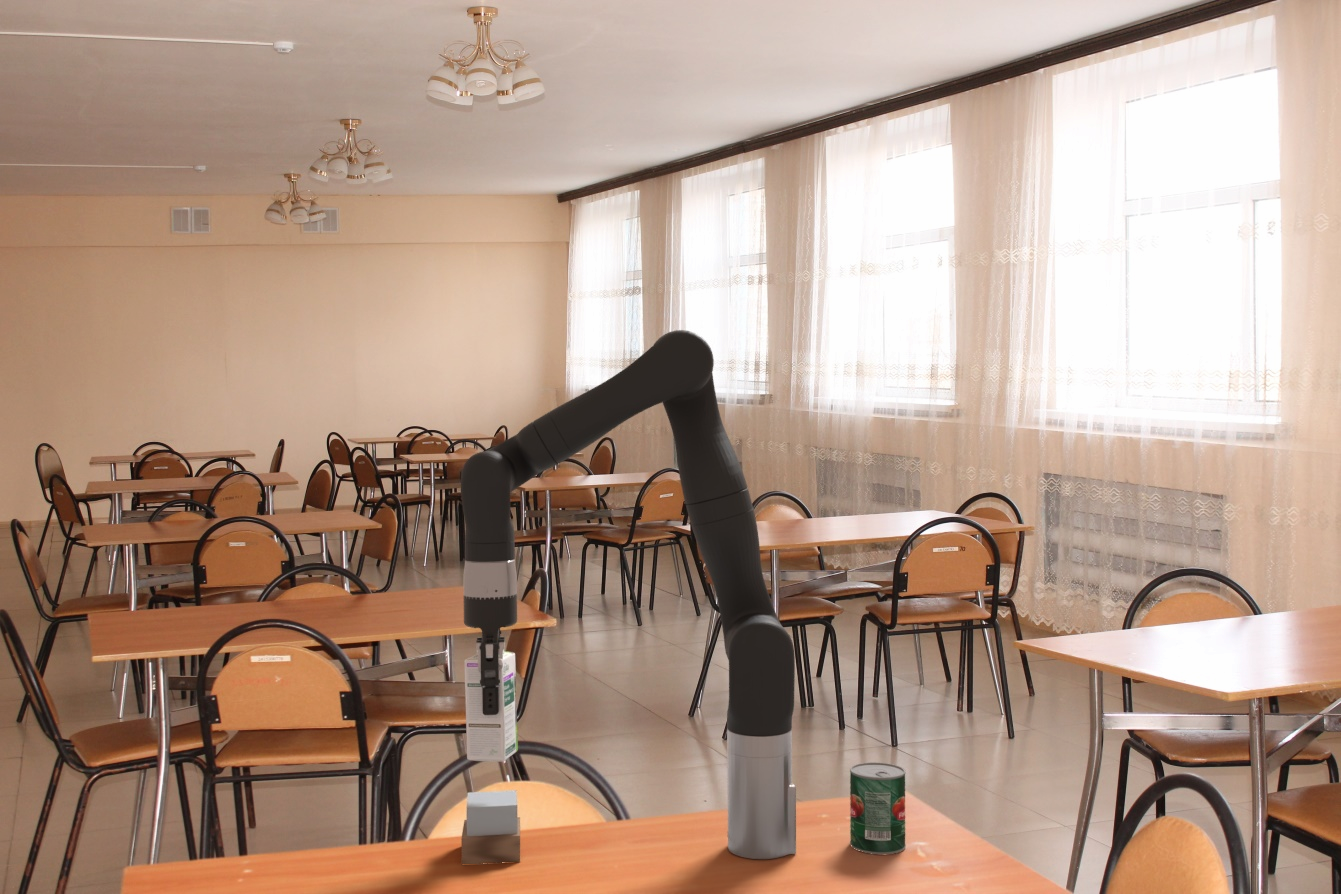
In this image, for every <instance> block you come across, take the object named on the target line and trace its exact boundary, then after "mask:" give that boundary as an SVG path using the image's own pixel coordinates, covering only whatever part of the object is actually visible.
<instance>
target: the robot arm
mask: <svg viewBox="0 0 1341 894" xmlns="http://www.w3.org/2000/svg"><path fill="white" fill-rule="evenodd" d="M714 361H715V360H714V354H713V351H712V348H711V347H710V345H709V343H708V342H707V341H706V340H705V339H704V338H703V337H702V336H701V335H700V334H698V333H696V332H693V331H690V330H686V329H685V330H684V329H676V330H672V331H669V332H666V333H664V334H662V336H661V337H659V338H658V339H657V340H656V341H655V342H654V343H653V345H652V346H651V347H649V349H647V350H646V351H645V352H643V354H642V355H640V356H639V357H638V358H637V359H636V360H634V361H633V362H632V363H631V364H628V366H626V367H624V369H622V370H621V371H620V372H617V374H614V375H613V376H612V377H609V378H608V379H607V380H605V381H604V382H602V383H600V384H598V385H596V386H595V387H593V388H591V389H590V390H588V391H586V392H583V393H581V394H580V395H577V396H576V397H573V398H572V399H570V400H568V401H566V402H564V403H562V404H561V405H559V406H558V407H556V408H555V407H554V409H552V410H550V411H548V412H547V413H544V414H543V415H541V416H540V417H538V418H536V419H535V420H534V421H531V422H529V423H528V424H527V425H526V426H524V427H522V429H521V430H519V431H518V432H517V434H515V435H513V436H511V437H509V438H508V439H506V440H504V441H502V442H500V443H499V444H497V445H495V446H493V447H491V448H489V449H487V450H485V451H479V452H477V453H475V454H472V455H471V456H470V457H469V458H468V459H467V460H466V461H465V463H464V464H463V467H462V470H461V473H460V474H461V475H460V494H461V503H462V504H461V505H462V511H463V512H462V513H463V517H464V525H465V531H464V569H463V576H462V577H463V578H462V579H463V591H462V592H463V625H465V626H466V627H467V628H471V629H480V630H481V635H482V636H478V637H476V643H475V645H476V647H475V648H476V654H478V671H479V672H480V673H481V680H480V686H481V688H482V703H483V714H484V715H497V714H498V712H499V685H500V679H499V671H500V670H501V669H502V668H503V663H502V665H499V659H502V660H503V653H504V651H505V648H506V637H505V636H501V635H502V630H501V628H508V627H512V626H514V625H516V624H517V622H518V575H517V568H516V560H515V559H516V555H515V554H516V552H515V551H516V547H515V545H516V544H515V543H516V542H515V540H516V539H515V537H516V536H515V529H514V524H513V522H512V519H511V493H512V492H513V491H515V490H516V489H518V488H520V487H521V486H523V485H524V484H525V483H527V482H529V481H530V480H531V479H533V478H534V477H536V476H538V475H539V474H540V473H542V472H544V471H547V470H550V469H551V468H553V467H556V466H557V465H559V464H561V463H562V462H564V461H566V460H568V459H569V458H571V457H573V456H574V455H576V454H578V453H579V452H582V451H583V450H584V449H586V448H587V447H589V446H591V445H592V444H594V443H596V442H597V441H598V440H599V439H601V438H602V437H604V436H605V435H607V434H608V433H609V432H611V431H612V430H614V429H615V428H617V427H619V426H620V425H621V424H623V423H624V422H626V421H628V420H630V419H632V418H633V417H634V416H636V415H638V414H640V413H642V412H644V411H646V410H648V409H650V408H652V407H654V406H657V405H659V404H661V403H662V406H663V407H664V410H665V413H666V416H667V418H668V422H669V424H670V427H671V431H672V435H673V439H674V445H675V454H676V459H677V460H676V461H677V468H678V475H679V480H680V484H681V491H682V495H683V498H684V499H683V500H684V503H685V507H686V511H687V514H688V518H689V522H690V526H691V529H692V532H693V535H694V538H695V540H696V544H697V546H698V549H699V553H700V554H701V556H702V557H701V558H702V560H703V562H704V565H705V567H706V569H707V572H708V574H709V576H710V579H711V582H712V584H713V588H714V591H715V597H716V600H717V605H718V610H719V615H720V620H721V628H722V634H723V642H724V650H725V654H726V657H727V659H728V660H727V661H728V705H727V711H726V728H727V729H726V733H727V734H726V736H727V737H726V738H727V739H726V747H727V748H726V751H727V754H726V757H727V760H726V761H727V766H726V768H727V771H726V772H727V778H726V779H727V783H726V784H727V832H726V833H727V850H728V851H729V852H730V853H732V854H733V855H736V856H738V857H741V858H746V859H750V860H751V859H752V860H753V859H754V860H771V859H779V858H782V857H785V856H787V855H791V854H792V855H795V854H797V789H796V785H795V784H794V783H793V749H792V748H793V747H792V745H793V744H792V743H793V740H792V739H793V738H792V737H793V736H792V735H793V734H792V733H793V732H792V730H793V729H792V728H793V723H792V722H793V714H794V710H795V682H796V681H795V680H796V679H795V675H796V673H795V672H796V670H795V669H796V668H795V662H796V661H795V658H796V657H795V648H794V643H793V640H792V638H791V636H790V634H789V632H788V631H787V629H785V628H784V626H782V624H781V622H780V620H779V618H778V616H777V613H776V610H775V608H774V605H773V602H772V599H771V596H770V594H769V592H768V591H769V590H768V589H767V585H766V582H765V578H764V574H763V569H762V561H761V548H760V547H761V546H760V538H759V531H758V526H757V525H758V523H757V519H756V515H755V509H754V507H753V503H752V499H751V495H750V491H749V488H748V483H747V481H746V477H745V475H744V472H743V469H742V466H741V464H740V461H739V459H738V456H737V454H736V452H735V449H734V447H733V444H732V442H731V440H730V438H729V436H728V433H727V432H726V429H725V427H724V423H723V421H722V418H721V413H720V410H719V409H720V408H719V405H718V400H717V395H716V389H715V382H714V376H713V375H714V374H713V371H714V363H715V362H714ZM492 671H495V677H485V674H486V672H492Z"/></svg>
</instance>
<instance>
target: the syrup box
mask: <svg viewBox="0 0 1341 894" xmlns="http://www.w3.org/2000/svg"><path fill="white" fill-rule="evenodd" d="M463 662H464V663H463V664H464V687H465V688H464V693H465V701H464V702H465V725H466V726H465V727H466V728H465V729H466V731H465V732H466V737H465V738H466V759H467V760H469V761H475V762H491V763H492V762H493V763H494V762H497V763H499V762H506V761H507V759H509V758H510V757H511V756H512V755H514V754H516V753H517V752H518V750H519V743H518V742H519V739H518V712H517V711H518V709H517V707H518V706H517V704H518V703H517V702H518V701H517V676H516V674H517V672H516V666H517V665H516V653H515V652H513V651H504V653H503V660H502V659H499V665H502V663H503V668H502V669H501V670H500V671H499V679H500V685H499V712H498V714H497V715H484V714H483V703H482V688H481V686H480V680H481V673H480V672H479V671H478V653H475V654H474V655H472V656H470V657H467V658H466V659H464V661H463ZM485 677H495V671H492V672H486V674H485Z"/></svg>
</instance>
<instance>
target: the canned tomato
mask: <svg viewBox="0 0 1341 894" xmlns="http://www.w3.org/2000/svg"><path fill="white" fill-rule="evenodd" d="M849 772H850V776H849V778H850V779H849V781H850V782H849V784H850V787H849V789H850V790H849V791H850V793H849V795H850V796H849V798H850V799H849V800H850V802H849V804H850V811H849V812H850V814H849V815H850V816H849V817H850V818H849V819H850V820H849V822H850V823H849V824H850V825H849V828H850V829H849V831H850V832H849V833H850V836H849V837H850V841H849V845H850V844H851V845H852V847H853V848H855V849H857V850H860V851H863V852H866V853H872V854H871V855H873V854H881V855H880V856H883V855H882V854H891V855H895V854H894V853H896V854H898V852H900V853H901V851H902V852H904V850H905V849H906V848H905V847H906V769H904V768H903V767H902V766H899V765H896V764H893V763H887V762H879V761H878V762H876V761H875V762H862V763H856V764H854V765H852V766H850V767H849ZM851 845H850V846H851ZM852 847H851V848H852ZM853 848H852V849H853ZM855 849H854V850H855ZM857 850H856V851H857ZM866 853H865V854H866Z"/></svg>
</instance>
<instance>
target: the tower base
mask: <svg viewBox="0 0 1341 894" xmlns="http://www.w3.org/2000/svg"><path fill="white" fill-rule="evenodd" d="M517 821H518V834H501V835H484V836H467V819H464V821H463V826H462V833H461V865H462V864H477V865H484V864H483V863H487V864H486V865H489V864H488V863H497V864H503V863H502V862H517V863H521V817H520V816H519V817H518V816H517Z"/></svg>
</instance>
